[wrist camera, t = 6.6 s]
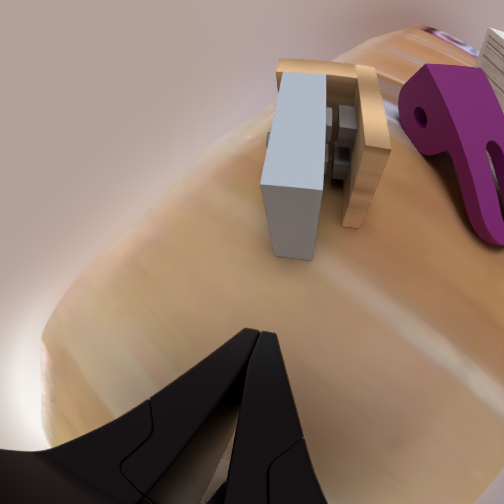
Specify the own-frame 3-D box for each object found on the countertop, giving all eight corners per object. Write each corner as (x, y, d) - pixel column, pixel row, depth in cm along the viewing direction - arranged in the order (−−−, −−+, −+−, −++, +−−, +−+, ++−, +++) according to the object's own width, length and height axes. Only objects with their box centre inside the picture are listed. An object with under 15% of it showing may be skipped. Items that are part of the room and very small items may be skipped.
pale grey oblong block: (318, 261, 22) (333, 191, 13) (259, 254, 23) (236, 182, 14) (325, 161, 25) (333, 75, 16) (276, 156, 26) (265, 71, 17)
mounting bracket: (487, 230, 26) (445, 94, 25) (534, 231, 18) (482, 68, 17) (438, 252, 27) (389, 98, 25) (488, 258, 18) (425, 63, 17)
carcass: (359, 228, 23) (391, 149, 13) (274, 218, 24) (260, 135, 15) (357, 149, 25) (374, 67, 16) (286, 142, 27) (278, 58, 18)
